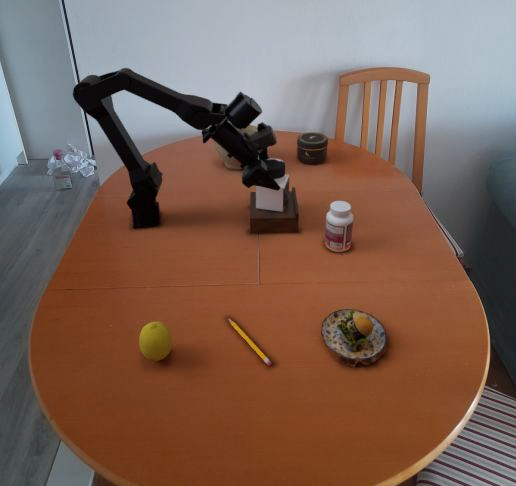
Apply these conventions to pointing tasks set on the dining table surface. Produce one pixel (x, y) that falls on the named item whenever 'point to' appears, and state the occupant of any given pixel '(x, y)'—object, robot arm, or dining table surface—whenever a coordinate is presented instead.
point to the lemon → (155, 341)
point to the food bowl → (354, 336)
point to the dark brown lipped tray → (275, 217)
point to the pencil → (251, 343)
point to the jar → (312, 147)
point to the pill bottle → (339, 226)
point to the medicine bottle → (271, 197)
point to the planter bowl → (232, 161)
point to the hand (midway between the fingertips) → (278, 181)
